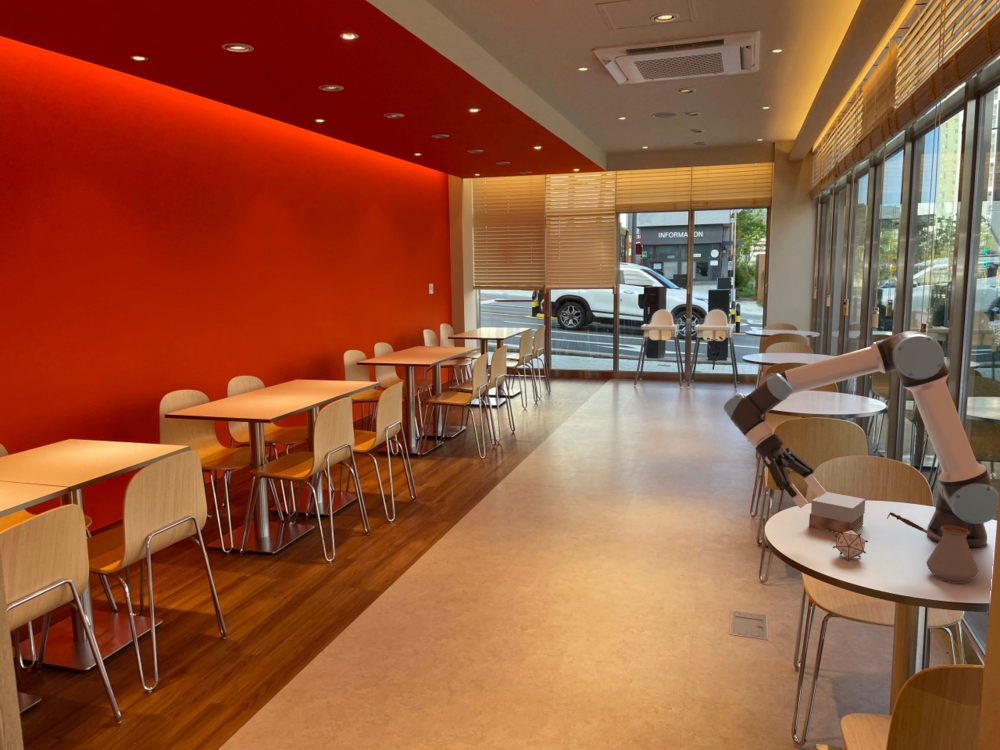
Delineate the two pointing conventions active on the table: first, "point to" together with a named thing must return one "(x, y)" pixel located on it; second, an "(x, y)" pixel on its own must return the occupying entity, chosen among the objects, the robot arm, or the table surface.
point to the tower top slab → (838, 507)
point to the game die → (850, 544)
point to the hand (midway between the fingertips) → (813, 500)
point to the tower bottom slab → (834, 524)
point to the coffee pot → (949, 554)
